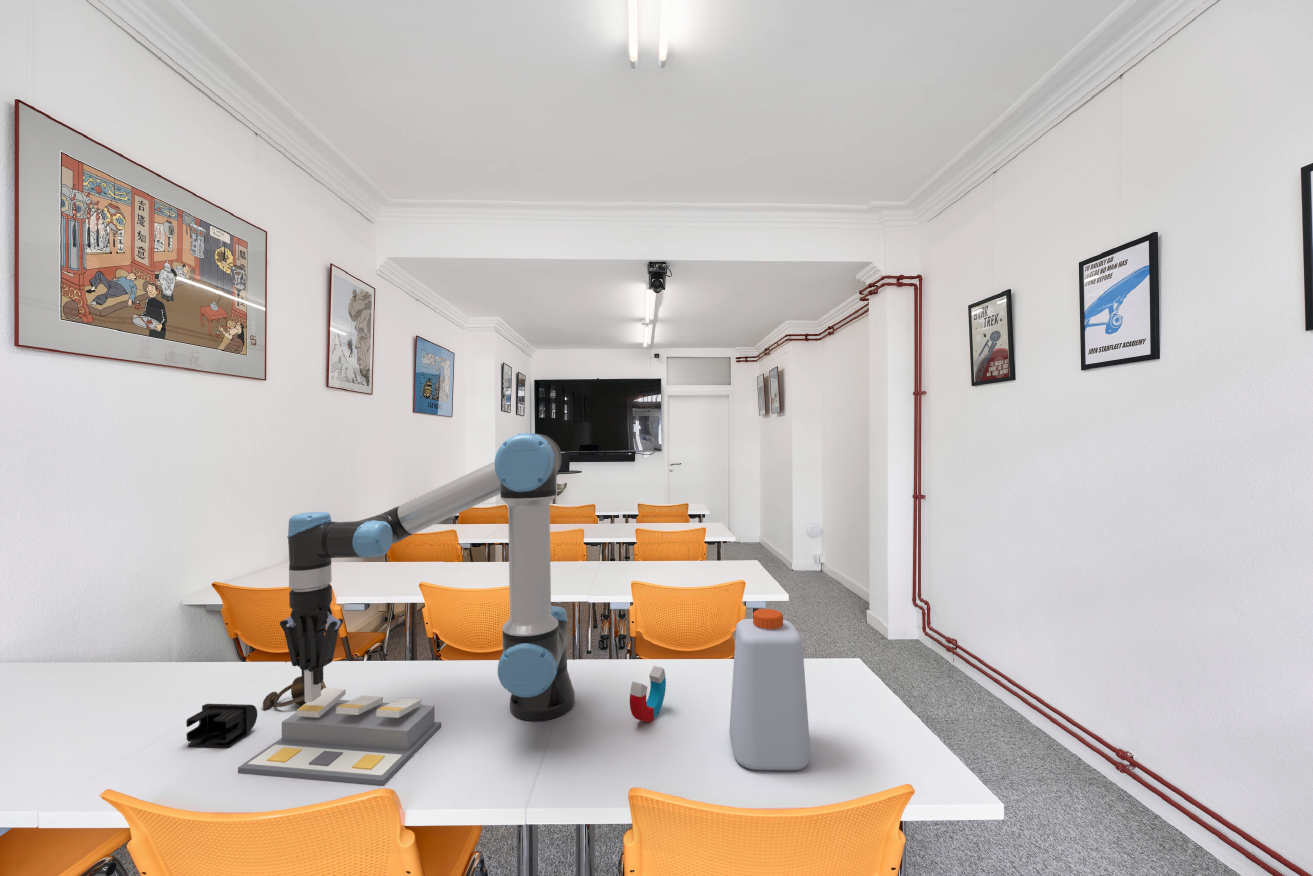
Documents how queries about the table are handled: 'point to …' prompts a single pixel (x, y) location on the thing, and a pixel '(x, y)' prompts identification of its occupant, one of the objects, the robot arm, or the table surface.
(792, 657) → the plastic bottle
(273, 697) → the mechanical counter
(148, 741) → the table surface
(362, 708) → the rocker middle
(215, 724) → the end cap
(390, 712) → the rocker
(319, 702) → the rocker
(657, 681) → the magnet
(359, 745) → the switch unit
